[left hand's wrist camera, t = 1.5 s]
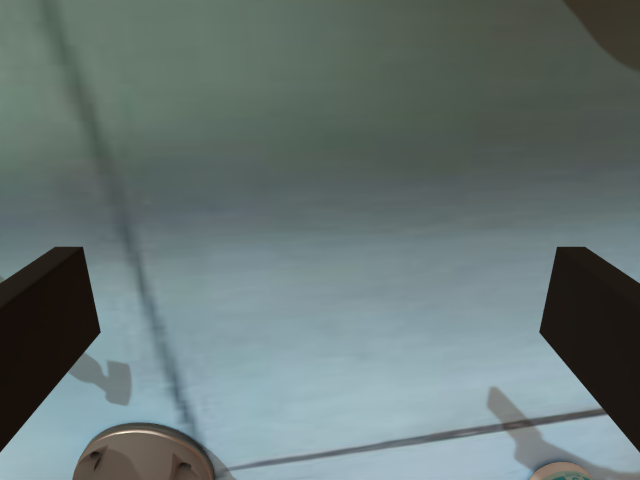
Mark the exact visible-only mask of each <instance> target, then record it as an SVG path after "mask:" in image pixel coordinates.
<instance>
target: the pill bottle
mask: <svg viewBox="0 0 640 480" xmlns="http://www.w3.org/2000/svg"><path fill="white" fill-rule="evenodd" d="M529 480H593V479H592V477H591V476H590V475H589V473H588V472H587V471H586V470H585V469H583V468H582V467H581V466H579V465H576V464H573V463H569V462H555V463H551V464H548V465H545V466H543V467H541V468H540V469H538V470H537V471H536V472H534V474H533V475H532V476H531V477H530V479H529Z"/></svg>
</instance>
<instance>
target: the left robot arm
mask: <svg viewBox="0 0 640 480" xmlns="http://www.w3.org/2000/svg"><path fill="white" fill-rule="evenodd" d="M100 333H101V331H100V326H99V322H98V317H97V312H96V307H95V303H94V298H93V293H92V288H91V283H90V279H89V274H88V269H87V264H86V260H85V255H84V250H83V247H54V248H53V249H51V250H50V251H48V252H47V253H45V254H44V255H42V256H41V257H39V258H38V259H36V260H35V261H33V262H32V263H30V264H29V265H27V266H26V267H24V268H23V269H21V270H20V271H18V272H17V273H15V274H14V275H12V276H11V277H9V278H8V279H6V280H5V281H3V282H2V283H0V452H1V451H2V450H3V449H4V447H5V446H6V445H7V444H8V443H9V441H10V440H11V439H12V438H13V437H14V435H15V434H16V433H17V432H18V431H19V429H20V428H21V427H22V426H23V425H24V423H25V422H26V421H27V420H28V419H29V417H30V416H31V415H32V414H33V413H34V411H35V410H36V409H37V408H38V407H39V405H40V404H41V403H42V402H43V401H44V400H45V398H46V397H47V396H48V395H49V394H50V392H51V391H52V390H53V389H54V388H55V386H56V385H57V384H58V383H59V382H60V380H61V379H62V378H63V377H64V376H65V374H66V373H67V372H68V371H69V370H70V368H71V367H72V366H73V365H74V364H75V362H76V361H77V360H78V359H79V358H80V356H81V355H82V354H83V353H84V352H85V350H86V349H87V348H88V347H89V346H90V344H91V343H92V342H93V341H94V340H95V339H96V337H97V336H98V335H99V334H100ZM539 333H540V334H541V335H542V336H543V337H544V339H545V340H546V341H547V342H548V343H549V344H550V346H551V347H552V348H553V349H554V350H555V352H556V353H557V354H558V355H559V356H560V358H561V359H562V360H563V361H564V362H565V364H566V365H567V366H568V367H569V368H570V370H571V371H572V372H573V373H574V374H575V376H576V377H577V378H578V379H579V380H580V382H581V383H582V384H583V385H584V386H585V388H586V389H587V390H588V391H589V392H590V394H591V395H592V396H593V397H594V398H595V400H596V401H597V402H598V403H599V404H600V405H601V407H602V408H603V409H604V410H605V411H606V413H607V414H608V415H609V416H610V417H611V419H612V420H613V421H614V422H615V423H616V425H617V426H618V427H619V428H620V429H621V431H622V432H623V433H624V434H625V435H626V437H627V438H628V439H629V440H630V441H631V443H632V444H633V445H634V446H635V447H636V449H637V450H638V451H639V452H640V283H638V282H637V281H635V280H634V279H632V278H631V277H629V276H628V275H626V274H625V273H623V272H622V271H620V270H619V269H617V268H616V267H614V266H613V265H611V264H610V263H608V262H607V261H605V260H604V259H602V258H601V257H599V256H598V255H596V254H595V253H593V252H592V251H590V250H589V249H587V248H586V247H557V250H556V255H555V260H554V264H553V269H552V274H551V279H550V283H549V288H548V293H547V298H546V303H545V307H544V312H543V317H542V322H541V326H540V331H539ZM73 480H214V471H213V467H212V464H211V462H210V460H209V458H208V456H207V455H206V453H205V452H204V451H203V450H202V448H201V447H200V446H199V445H198V444H196V443H195V442H194V441H193V440H192V439H190V438H189V437H187V436H185V435H184V434H182V433H180V432H178V431H176V430H173V429H171V428H168V427H165V426H161V425H157V424H151V423H127V424H121V425H117V426H114V427H111V428H109V429H106V430H105V431H103V432H101V433H100V434H98V435H97V436H95V437H94V438H93V439H92V440H91V441H90V443H89V444H88V445H87V447H86V449H85V450H84V452H83V453H82V455H81V457H80V459H79V461H78V463H77V466H76V468H75V471H74V475H73Z"/></svg>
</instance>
